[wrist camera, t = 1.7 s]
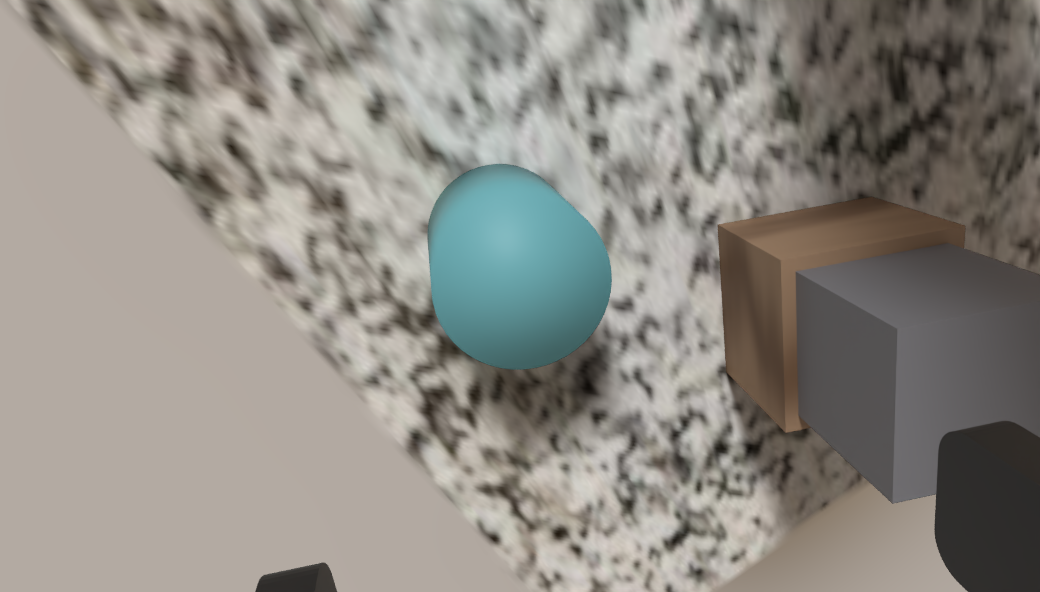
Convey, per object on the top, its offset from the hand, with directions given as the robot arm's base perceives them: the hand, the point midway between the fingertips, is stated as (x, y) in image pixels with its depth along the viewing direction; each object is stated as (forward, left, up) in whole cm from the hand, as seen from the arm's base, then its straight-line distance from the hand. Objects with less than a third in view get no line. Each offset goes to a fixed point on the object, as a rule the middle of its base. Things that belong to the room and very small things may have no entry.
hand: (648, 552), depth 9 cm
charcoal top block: (+4, +11, -13) cm, 17 cm away
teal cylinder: (0, 0, -17) cm, 17 cm away
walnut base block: (+4, +11, -18) cm, 21 cm away
